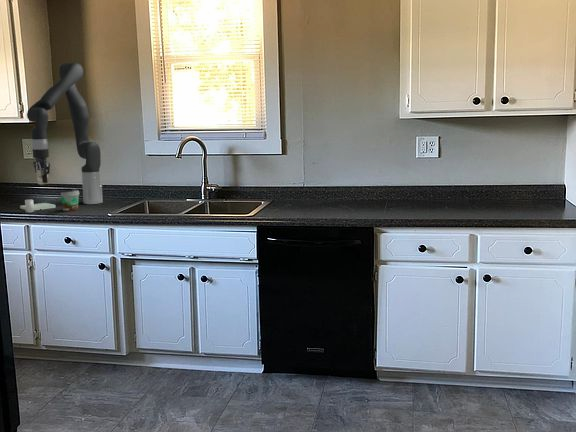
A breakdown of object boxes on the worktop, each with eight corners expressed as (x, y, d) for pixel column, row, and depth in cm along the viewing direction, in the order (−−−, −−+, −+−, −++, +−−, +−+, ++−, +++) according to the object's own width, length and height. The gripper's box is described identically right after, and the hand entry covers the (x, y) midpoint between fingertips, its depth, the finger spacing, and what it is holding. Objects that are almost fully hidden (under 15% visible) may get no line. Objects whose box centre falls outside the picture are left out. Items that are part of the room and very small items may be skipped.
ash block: (45, 182, 337) (43, 169, 336) (48, 183, 334) (47, 169, 333) (37, 183, 334) (36, 170, 333) (41, 184, 332) (40, 170, 330)
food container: (72, 212, 332) (71, 192, 330) (61, 212, 333) (60, 192, 331) (85, 208, 344) (84, 189, 342) (74, 208, 345) (73, 189, 343)
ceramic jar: (31, 210, 338) (31, 199, 337) (35, 211, 335) (34, 200, 334) (24, 211, 335) (23, 200, 334) (27, 212, 332) (26, 200, 331)
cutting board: (45, 205, 355) (45, 202, 355) (55, 207, 348) (55, 204, 347) (20, 208, 345) (20, 205, 345) (29, 210, 338) (29, 208, 337)
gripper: (54, 148, 329) (56, 182, 332) (40, 147, 339) (43, 180, 342) (39, 149, 324) (42, 184, 327) (26, 148, 333) (29, 181, 337)
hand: (43, 182), depth 334 cm, fingers closed on ash block, 4 cm apart
